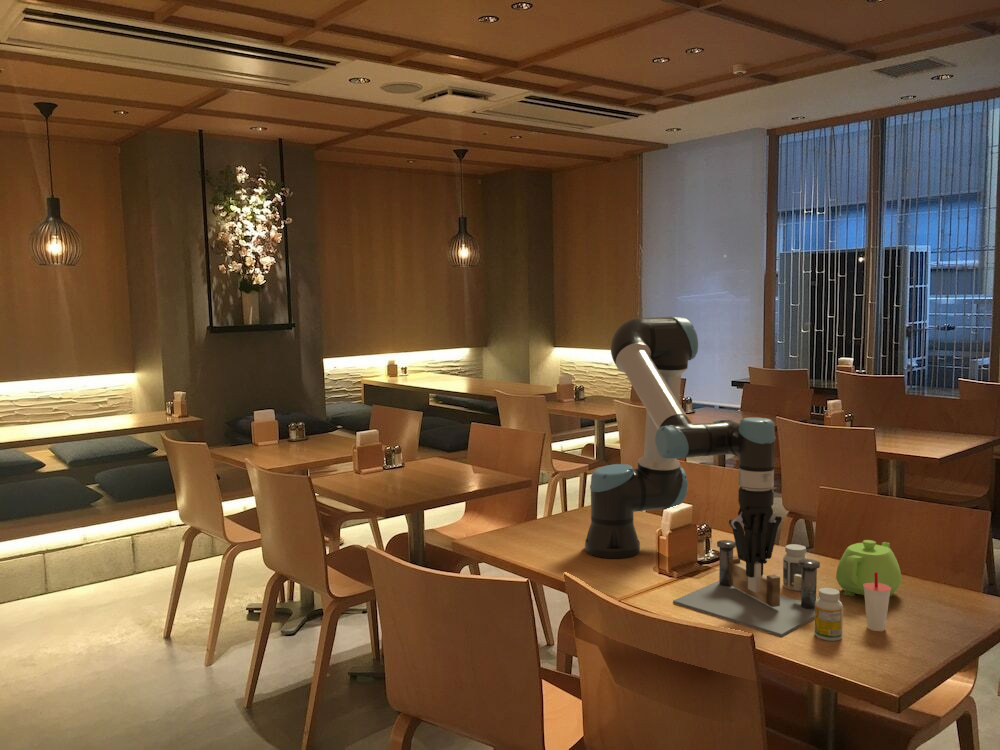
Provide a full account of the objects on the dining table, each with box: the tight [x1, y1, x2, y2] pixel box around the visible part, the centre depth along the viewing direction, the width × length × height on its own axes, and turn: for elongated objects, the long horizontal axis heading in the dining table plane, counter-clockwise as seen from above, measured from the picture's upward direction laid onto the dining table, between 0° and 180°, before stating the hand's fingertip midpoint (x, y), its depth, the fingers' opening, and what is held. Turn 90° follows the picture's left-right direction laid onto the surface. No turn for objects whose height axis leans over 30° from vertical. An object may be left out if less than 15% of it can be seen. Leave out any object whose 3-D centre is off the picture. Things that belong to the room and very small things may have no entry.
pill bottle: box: [782, 543, 809, 592], centre depth 200 cm, size 6×6×10 cm
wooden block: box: [729, 556, 781, 607], centre depth 192 cm, size 16×2×6 cm, turn 20°
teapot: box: [835, 539, 902, 597], centre depth 195 cm, size 20×13×13 cm
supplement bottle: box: [814, 587, 844, 642], centre depth 172 cm, size 5×5×10 cm
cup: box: [863, 573, 891, 632], centre depth 175 cm, size 5×5×12 cm
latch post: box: [794, 558, 821, 609], centre depth 187 cm, size 6×5×11 cm
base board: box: [672, 580, 815, 638], centre depth 189 cm, size 27×20×1 cm
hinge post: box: [716, 539, 736, 586], centre depth 202 cm, size 4×4×11 cm
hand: (754, 590), depth 189 cm, fingers closed
